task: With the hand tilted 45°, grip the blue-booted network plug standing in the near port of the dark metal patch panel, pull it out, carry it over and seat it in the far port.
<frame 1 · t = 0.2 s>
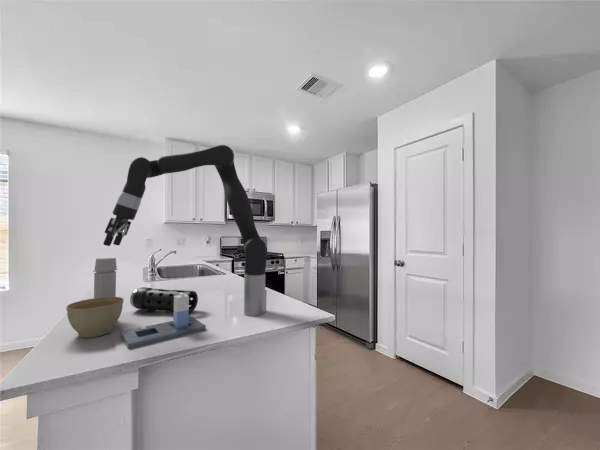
hand: (111, 245, 104), 31 cm above the counter, tool tilted 20°, fingers open, 8 cm apart
planter bowl: (95, 333, 95), on the counter
panel: (164, 334, 94), on the counter
muzzle brake: (163, 312, 120), on the counter
water bottle: (103, 321, 107), on the counter
plug: (180, 329, 98), resting on panel
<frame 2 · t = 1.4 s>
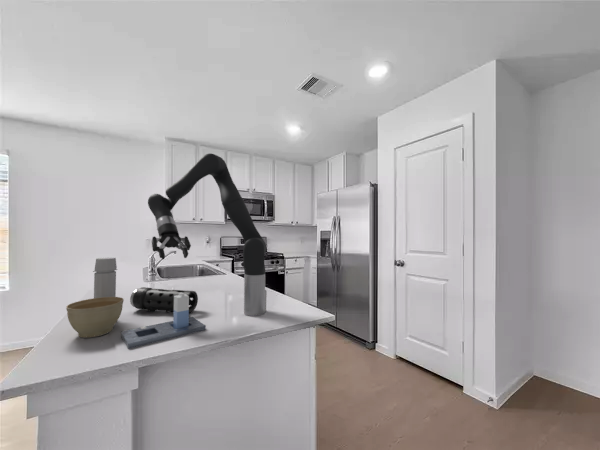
hand: (175, 257, 108), 26 cm above the counter, tool tilted 45°, fingers open, 8 cm apart
nothing on the counter moved.
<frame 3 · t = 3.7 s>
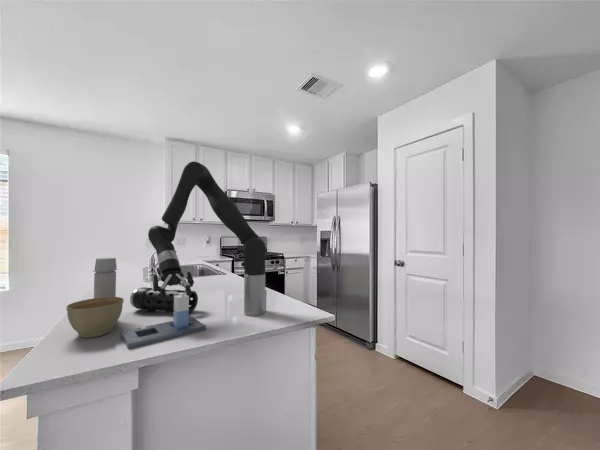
hand: (177, 297, 102), 11 cm above the counter, tool tilted 45°, fingers open, 8 cm apart
nothing on the counter moved.
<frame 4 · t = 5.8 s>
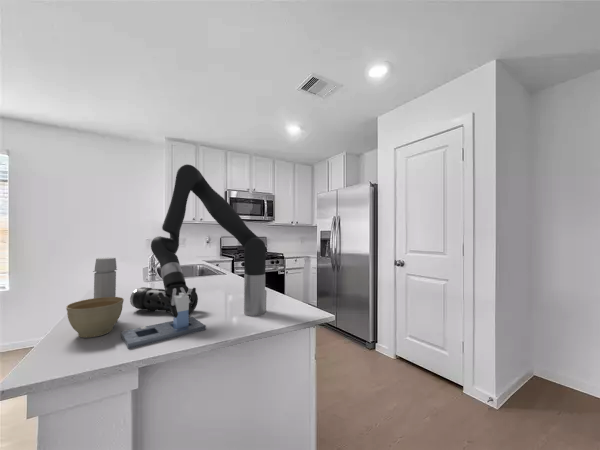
hand: (182, 315, 97), 6 cm above the counter, tool tilted 45°, fingers closed on plug, 4 cm apart
plug: (180, 329, 98), point 1 cm above the counter, touching gripper, panel
everything else where it was.
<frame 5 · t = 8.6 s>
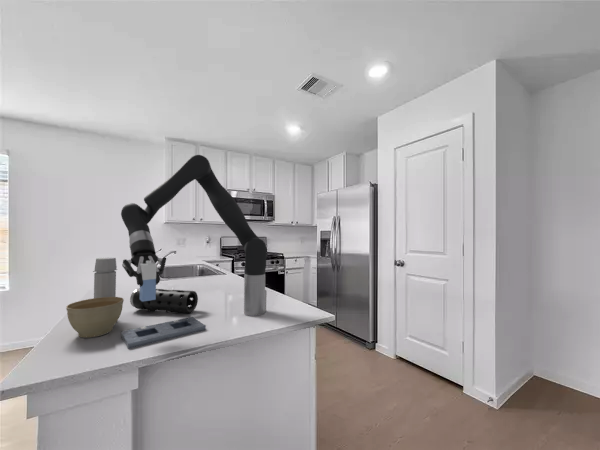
hand: (149, 283, 90), 19 cm above the counter, tool tilted 45°, fingers closed on plug, 4 cm apart
plug: (147, 299, 91), point 13 cm above the counter, touching gripper
everything else where it was.
when the fingers open (6 cm above the counter, at t = 11.6 s): plug stays where it is, resting on panel.
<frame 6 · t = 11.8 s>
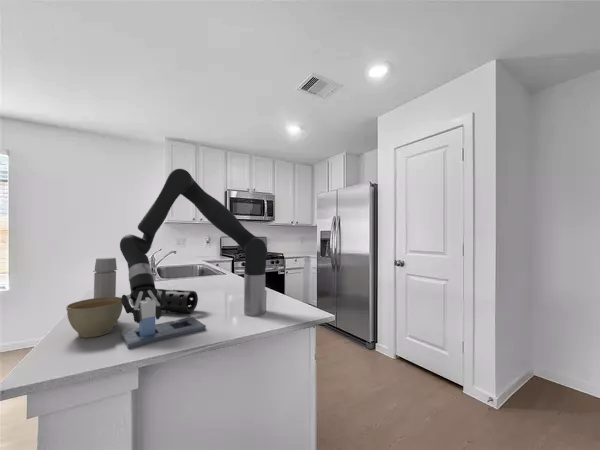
hand: (148, 319, 89), 7 cm above the counter, tool tilted 45°, fingers open, 5 cm apart
plug: (146, 336, 91), resting on panel
everything else where it was.
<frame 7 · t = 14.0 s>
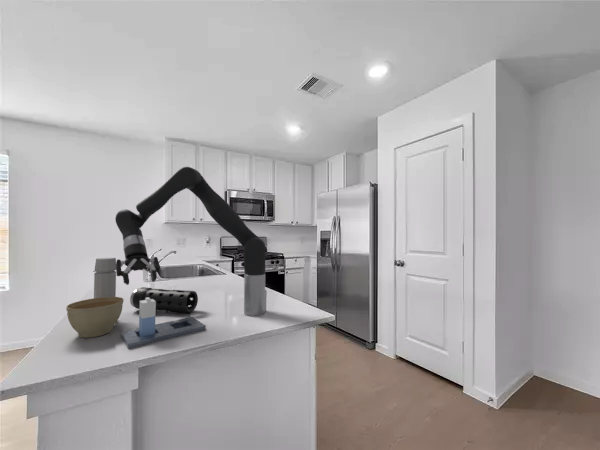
hand: (141, 281, 100), 17 cm above the counter, tool tilted 45°, fingers open, 8 cm apart
nothing on the counter moved.
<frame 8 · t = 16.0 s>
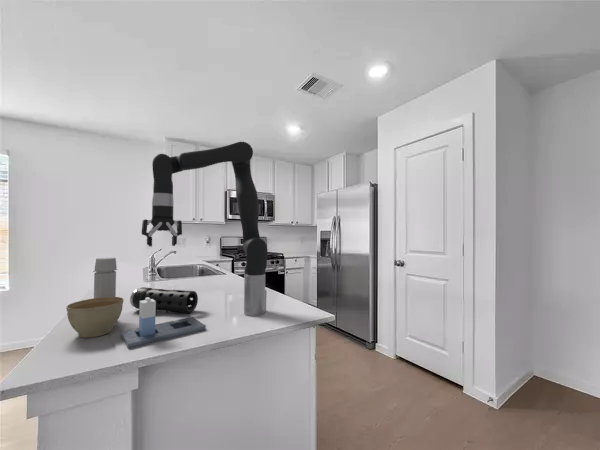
hand: (162, 246, 107), 30 cm above the counter, tool pointing down, fingers open, 8 cm apart
nothing on the counter moved.
at the end: plug 0.1 cm from the target spot on the panel, point 0.5 cm above the panel's base; plug tilted 0°; the gripper is holding nothing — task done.
